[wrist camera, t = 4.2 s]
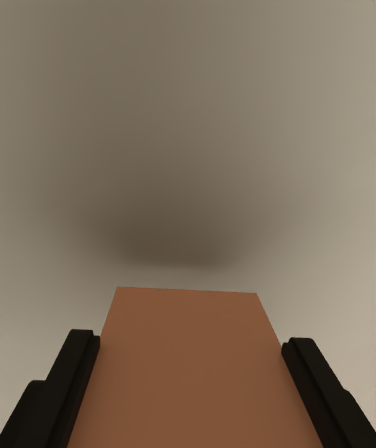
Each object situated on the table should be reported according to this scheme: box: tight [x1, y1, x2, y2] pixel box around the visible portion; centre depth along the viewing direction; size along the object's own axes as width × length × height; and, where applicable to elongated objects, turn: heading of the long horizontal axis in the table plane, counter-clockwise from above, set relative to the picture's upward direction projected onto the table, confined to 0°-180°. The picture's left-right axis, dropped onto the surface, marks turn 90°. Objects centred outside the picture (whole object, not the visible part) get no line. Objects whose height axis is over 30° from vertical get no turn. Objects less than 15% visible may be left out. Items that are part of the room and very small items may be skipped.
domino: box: [67, 287, 323, 448], centre depth 8 cm, size 2×5×10 cm, turn 86°
